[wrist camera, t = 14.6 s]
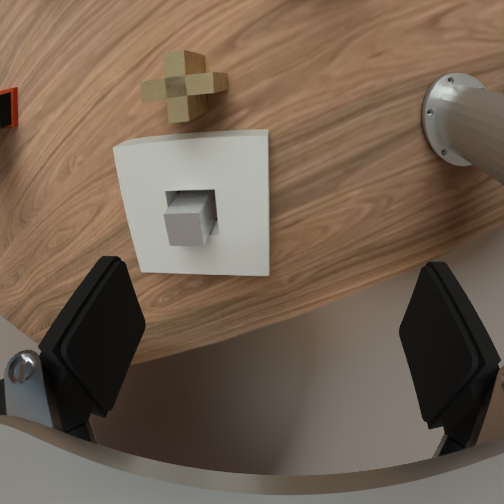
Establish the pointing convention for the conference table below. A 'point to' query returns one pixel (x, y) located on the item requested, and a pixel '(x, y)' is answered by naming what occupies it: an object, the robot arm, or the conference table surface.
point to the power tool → (8, 108)
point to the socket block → (199, 178)
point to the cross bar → (184, 85)
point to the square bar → (190, 217)
